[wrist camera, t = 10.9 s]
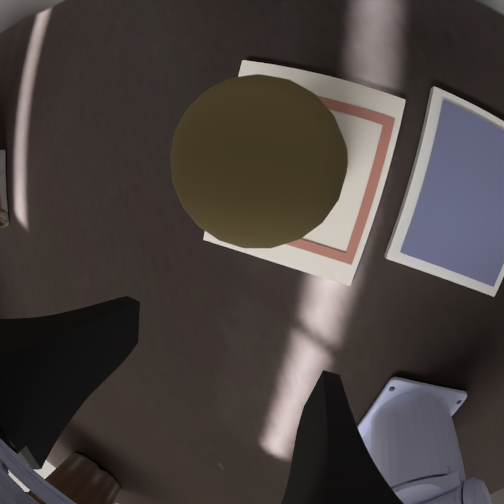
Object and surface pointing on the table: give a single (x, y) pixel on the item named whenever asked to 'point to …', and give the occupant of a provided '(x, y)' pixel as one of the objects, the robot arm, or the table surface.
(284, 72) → the marked board
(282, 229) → the cork
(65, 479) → the plant pot
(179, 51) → the table surface
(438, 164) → the ink pad
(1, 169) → the coffee box
